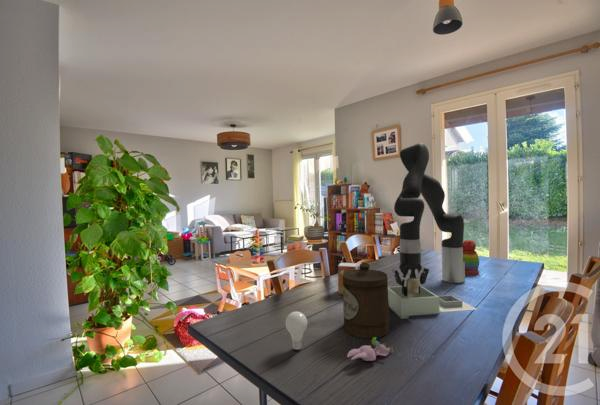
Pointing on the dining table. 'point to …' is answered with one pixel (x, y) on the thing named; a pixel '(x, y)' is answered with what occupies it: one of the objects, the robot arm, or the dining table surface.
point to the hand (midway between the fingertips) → (411, 295)
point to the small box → (341, 269)
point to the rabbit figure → (370, 351)
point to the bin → (412, 302)
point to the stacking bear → (470, 258)
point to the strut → (412, 288)
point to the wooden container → (366, 302)
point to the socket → (453, 304)
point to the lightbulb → (296, 328)
